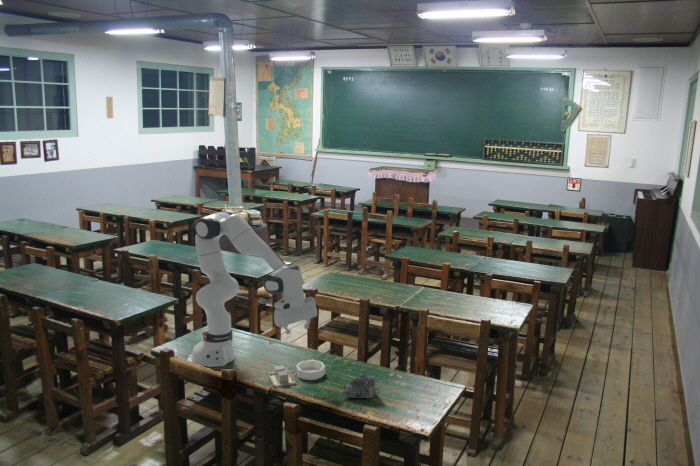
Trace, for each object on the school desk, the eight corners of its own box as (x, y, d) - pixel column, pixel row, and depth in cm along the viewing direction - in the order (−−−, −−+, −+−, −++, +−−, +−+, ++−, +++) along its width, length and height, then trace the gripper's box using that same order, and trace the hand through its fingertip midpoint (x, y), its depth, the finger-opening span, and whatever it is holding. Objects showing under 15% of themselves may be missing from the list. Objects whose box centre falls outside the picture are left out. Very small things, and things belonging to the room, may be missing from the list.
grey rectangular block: (279, 385, 240) (279, 375, 239) (277, 381, 244) (277, 371, 243) (288, 383, 241) (288, 374, 240) (286, 379, 245) (286, 370, 244)
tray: (273, 388, 238) (273, 385, 237) (267, 376, 249) (266, 372, 249) (296, 385, 241) (296, 381, 241) (288, 372, 253) (288, 369, 253)
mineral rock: (341, 398, 231) (341, 376, 229) (350, 387, 240) (350, 366, 238) (370, 404, 226) (370, 381, 224) (378, 392, 236) (379, 371, 234)
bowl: (301, 383, 243) (301, 373, 243) (293, 371, 255) (293, 362, 254) (327, 378, 248) (327, 369, 247) (319, 367, 259) (319, 358, 258)
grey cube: (276, 379, 245) (276, 369, 245) (274, 375, 249) (274, 366, 248) (285, 377, 247) (284, 368, 246) (282, 373, 250) (282, 364, 250)
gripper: (311, 294, 250) (313, 323, 252) (270, 304, 239) (274, 335, 241) (318, 296, 245) (321, 326, 247) (277, 307, 233) (281, 338, 236)
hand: (297, 331), depth 244 cm, fingers open, 8 cm apart
